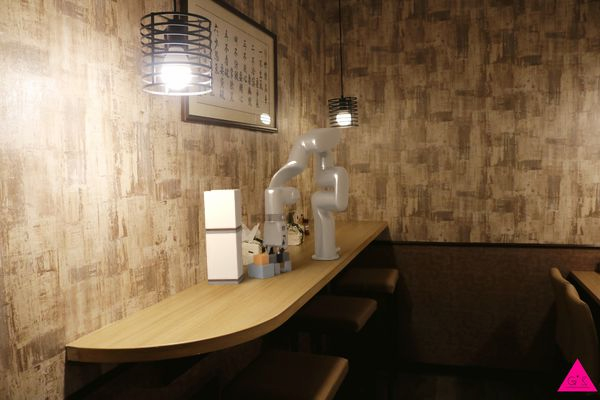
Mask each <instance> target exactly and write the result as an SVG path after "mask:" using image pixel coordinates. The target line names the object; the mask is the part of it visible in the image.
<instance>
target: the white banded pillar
mask: <svg viewBox="0 0 600 400" xmlns="http://www.w3.org/2000/svg"><path fill="white" fill-rule="evenodd" d="M241 199H242V198H241V188H238V189H235V188H234V189H211V190H208V191H207V190H206V191H203V200H204V201H203V202H204V222H205V223H204V224H205V241H206V242H205V243H206V244H205V245H206V261H207V262H206V264H207V265H206V266H207V285H209V286H210V285H214V286H215V285H216V286H217V285H218V286H219V285H220V286H221V285H239V284H241V281H244V279H245V273H244V265H243V262H244V261H243V240H242V239H243V236H242V234H243V222H242V200H241Z"/></svg>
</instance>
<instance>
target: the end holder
mask: <svg viewBox="0 0 600 400" xmlns="http://www.w3.org/2000/svg"><path fill="white" fill-rule="evenodd" d="M247 277H248V278H253V277H255V278H254V279H259V278H260V280H261V279H262V280H264V279H268V278H272V277H275V275H274V263H271V264H267V265H263V266H262V265H254V262H252V263H247Z"/></svg>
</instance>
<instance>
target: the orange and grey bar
mask: <svg viewBox="0 0 600 400" xmlns="http://www.w3.org/2000/svg"><path fill="white" fill-rule="evenodd" d="M276 254H278V253H277V252H275V254H270V255H269V254H267V253H266V254H265V253H258V254H254V255H253V256H252V257H253V263H254V265H262V266H263V265H267V264H271V263H274V264H276V263H277V255H276ZM288 260H290V261H291V259H290V252H289V251H284V253H283V263H284V261H288Z"/></svg>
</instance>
